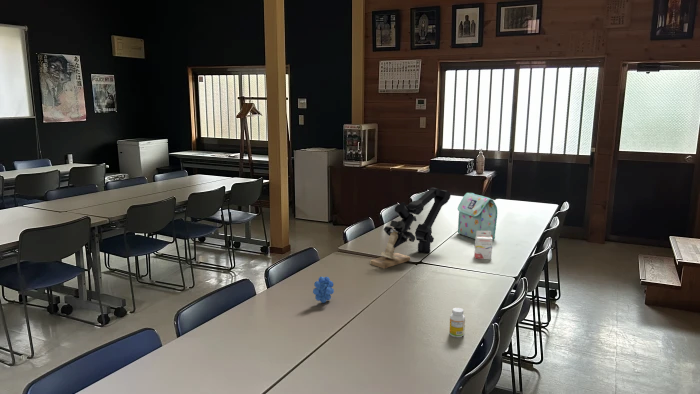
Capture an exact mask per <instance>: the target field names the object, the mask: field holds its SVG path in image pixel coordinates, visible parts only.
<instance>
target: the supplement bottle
mask: <svg viewBox="0 0 700 394" xmlns="http://www.w3.org/2000/svg"><path fill="white" fill-rule="evenodd" d="M451 311H452V313H451V314H450V315H449V335H450V337H452V338H463V337H464V336H465V327H466V325H465V323H466V316H465V315H464V308H461V307H453V308H452V310H451ZM462 336H463V337H462Z"/></svg>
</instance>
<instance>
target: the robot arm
mask: <svg viewBox="0 0 700 394" xmlns="http://www.w3.org/2000/svg"><path fill="white" fill-rule="evenodd" d="M451 196H452V195H451V193H450V191H449V190H443V189H439V188H436V187H430V188H429V189H428V190H427V191H426V192H425V193H424V194H423V195H421V197H419V198H418V199H417V200H413V201H411V202H409V203H407V204H406V202H401V203H399V204H398V205H396V206H395V207H394V212H395V213H396V214H397V215H398V217H399V218H400V219H401V220H391V221H390V223H389V226H388V225H387V226H384V227H383V231H384V233H386V235H387V236H389V237H390V234H391V233H393V231H394V232H397V235H398V239H397V241H396V242H395V244H394V246H393V247H394V248H395V249H397V248H398V247H399V246H401V245H403V244H404V243H407V242H408V241H409V242H411V243H414V242H415V240H416V241H418V243H417V251H418V252H417V253H420V254H431V244H432V243H433V242H434V240H435V238H434V236H433V235H432V234H433V232H432V228H433V225H434V223H435V222H436V219H437V217H438V215H439V213H440V211H441V209H442V207H443V206H445V205H447V203H448V202H449V200H450V199H451ZM432 200H433V201H434V202H433V204H432V206H431V207H430V210H429V211H428V214H427V215H426V217H425V219H424V222H423V223H418V225H417V227H416V228H415V232H414V234H413V233H412V232H411V231H410V230H411V225H412V223H413V222H417V216H415V215H418V216H419V215H420V214H422V212H423V210H424V207H426V205H428V204H429V203H430V202H431V201H432Z"/></svg>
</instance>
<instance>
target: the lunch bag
mask: <svg viewBox="0 0 700 394" xmlns="http://www.w3.org/2000/svg"><path fill="white" fill-rule="evenodd" d="M457 211H458V222H457V223H458V224H457V233H458V234H460V235H462V236H465V237H468V238H470V239H473V240H475V237H476V231H491V237H492V239H493V240H496V228H497V219H498V207H497V204H496V203H495V201H494V199H492V198H490V197H487V196H483V195H479V194H475V193H474V192H466V193H465V194H464V196H462V198H461V201H460V202H459V204H458V206H457ZM481 234H486V233H484V232H483V233H481Z"/></svg>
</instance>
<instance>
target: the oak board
mask: <svg viewBox="0 0 700 394" xmlns="http://www.w3.org/2000/svg"><path fill="white" fill-rule="evenodd" d="M393 255H394V256H396V258H395V260H394V259H391V258H388V257H385V256H380V257H377V258H373V259H371V260H370V265H372V266H375V267H378V268H381V269H388V268H390V267H393V266H397V265H400V264H403V263H406V262H409V260H410V261H411V256H409V255H406V254H403V253H402V254H401V253H398V252H394V254H393Z"/></svg>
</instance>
